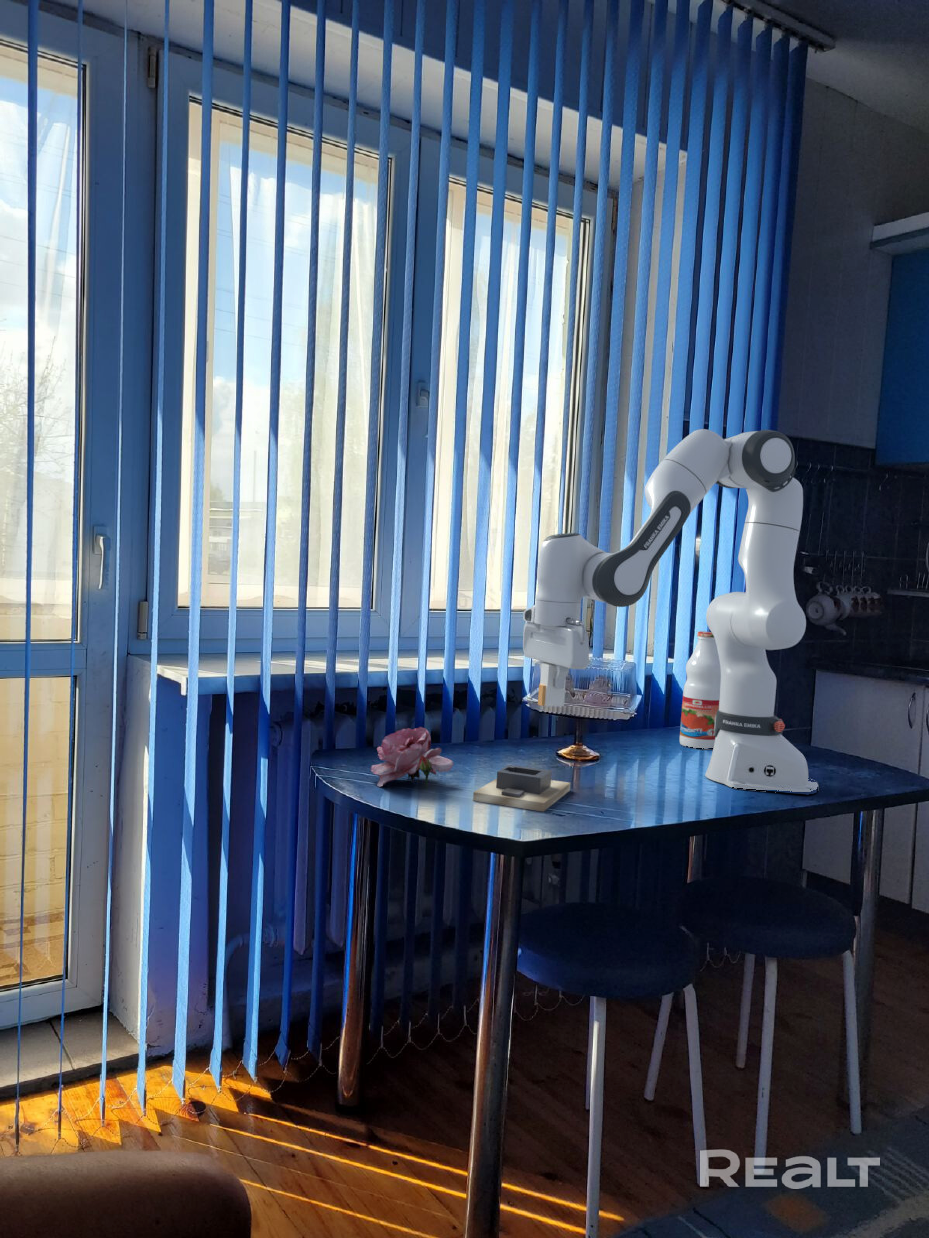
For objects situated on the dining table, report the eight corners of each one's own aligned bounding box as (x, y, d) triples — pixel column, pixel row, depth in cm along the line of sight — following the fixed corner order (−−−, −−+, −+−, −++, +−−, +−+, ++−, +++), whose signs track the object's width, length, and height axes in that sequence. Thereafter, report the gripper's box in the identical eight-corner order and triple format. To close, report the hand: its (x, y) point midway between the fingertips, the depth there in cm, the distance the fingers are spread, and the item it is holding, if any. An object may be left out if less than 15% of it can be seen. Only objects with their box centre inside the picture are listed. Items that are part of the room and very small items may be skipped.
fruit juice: (724, 746, 247) (733, 633, 245) (710, 751, 239) (719, 634, 237) (687, 740, 252) (696, 629, 250) (672, 745, 245) (682, 630, 243)
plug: (556, 703, 199) (559, 663, 199) (564, 706, 197) (566, 665, 196) (536, 703, 197) (538, 663, 197) (543, 706, 195) (546, 665, 194)
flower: (408, 755, 199) (406, 710, 195) (465, 779, 190) (463, 733, 186) (353, 786, 188) (350, 739, 185) (410, 813, 179) (407, 764, 176)
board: (569, 790, 190) (570, 779, 190) (543, 811, 174) (544, 799, 173) (504, 780, 195) (505, 770, 195) (472, 800, 178) (473, 788, 178)
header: (550, 786, 186) (551, 770, 186) (539, 794, 179) (540, 777, 179) (508, 780, 189) (509, 764, 189) (496, 787, 182) (497, 771, 182)
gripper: (599, 621, 188) (594, 694, 189) (546, 612, 206) (542, 678, 207) (570, 620, 185) (565, 694, 186) (519, 611, 204) (514, 678, 205)
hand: (552, 686), depth 197 cm, fingers closed on plug, 3 cm apart
